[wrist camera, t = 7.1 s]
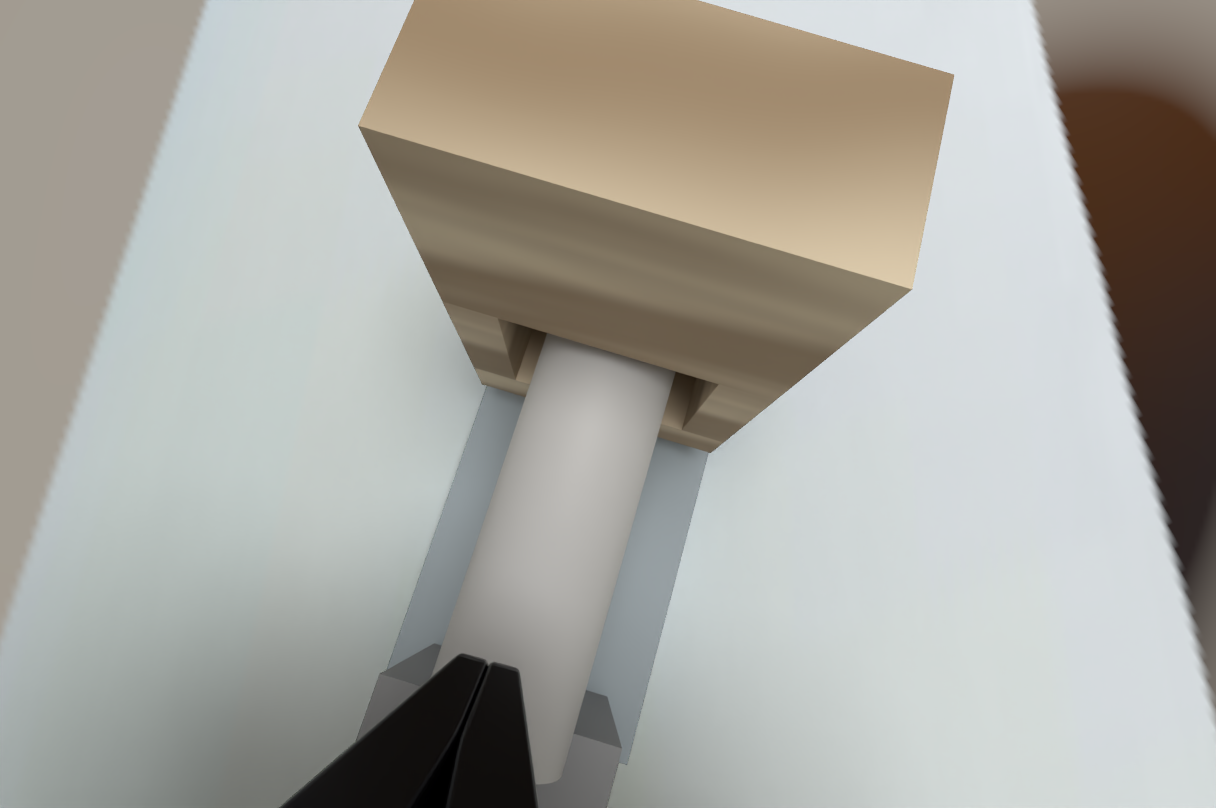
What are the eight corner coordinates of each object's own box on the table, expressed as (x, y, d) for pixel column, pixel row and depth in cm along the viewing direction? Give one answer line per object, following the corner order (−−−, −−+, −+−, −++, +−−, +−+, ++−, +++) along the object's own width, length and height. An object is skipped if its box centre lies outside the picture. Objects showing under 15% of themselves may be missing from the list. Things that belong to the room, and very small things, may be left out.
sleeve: (710, 452, 19) (912, 289, 8) (482, 384, 19) (358, 125, 8) (736, 354, 19) (954, 74, 8) (516, 288, 19) (447, -73, 8)
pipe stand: (622, 750, 20) (663, 890, 11) (394, 679, 20) (260, 764, 11) (750, 267, 24) (853, 96, 15) (557, 210, 24) (551, 8, 15)
